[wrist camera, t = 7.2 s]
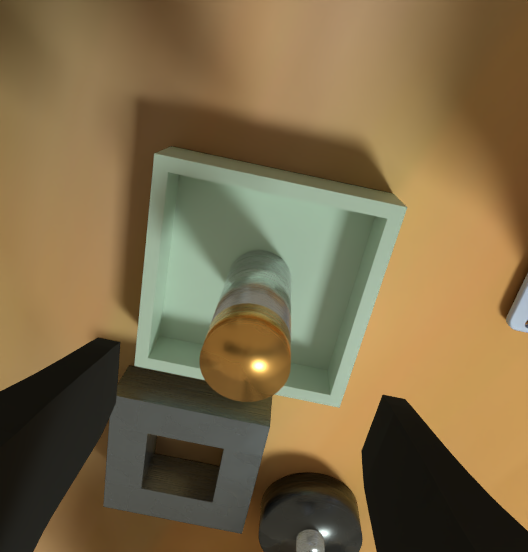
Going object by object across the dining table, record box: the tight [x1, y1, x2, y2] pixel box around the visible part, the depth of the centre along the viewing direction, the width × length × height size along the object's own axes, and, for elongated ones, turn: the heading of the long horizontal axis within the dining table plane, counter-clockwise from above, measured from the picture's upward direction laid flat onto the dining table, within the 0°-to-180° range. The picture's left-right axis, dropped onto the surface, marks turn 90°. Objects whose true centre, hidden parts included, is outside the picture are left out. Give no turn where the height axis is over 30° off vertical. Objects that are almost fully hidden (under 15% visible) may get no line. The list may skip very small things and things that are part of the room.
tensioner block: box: [103, 366, 362, 552], centre depth 25 cm, size 15×11×3 cm
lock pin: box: [199, 250, 291, 402], centre depth 17 cm, size 3×3×7 cm
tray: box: [134, 146, 407, 407], centre depth 20 cm, size 10×10×2 cm
